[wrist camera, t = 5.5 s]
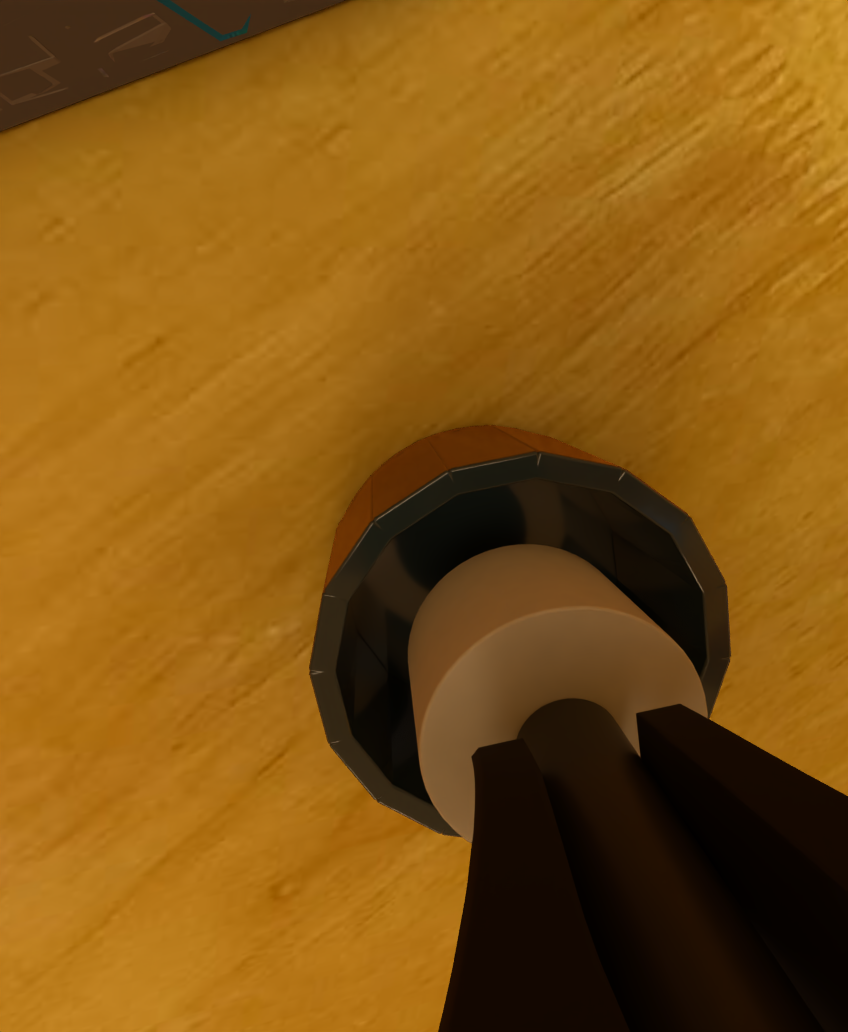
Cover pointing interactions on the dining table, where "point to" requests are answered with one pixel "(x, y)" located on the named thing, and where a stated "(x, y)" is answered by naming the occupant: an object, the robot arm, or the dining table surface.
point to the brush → (592, 777)
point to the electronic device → (115, 43)
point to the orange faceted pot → (469, 532)
